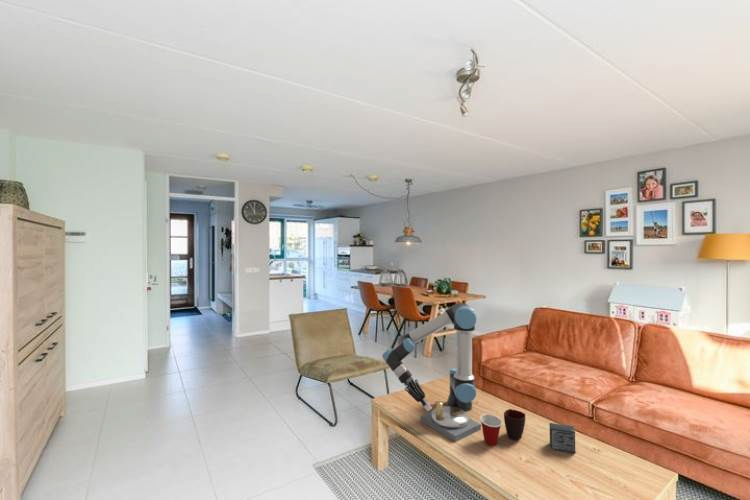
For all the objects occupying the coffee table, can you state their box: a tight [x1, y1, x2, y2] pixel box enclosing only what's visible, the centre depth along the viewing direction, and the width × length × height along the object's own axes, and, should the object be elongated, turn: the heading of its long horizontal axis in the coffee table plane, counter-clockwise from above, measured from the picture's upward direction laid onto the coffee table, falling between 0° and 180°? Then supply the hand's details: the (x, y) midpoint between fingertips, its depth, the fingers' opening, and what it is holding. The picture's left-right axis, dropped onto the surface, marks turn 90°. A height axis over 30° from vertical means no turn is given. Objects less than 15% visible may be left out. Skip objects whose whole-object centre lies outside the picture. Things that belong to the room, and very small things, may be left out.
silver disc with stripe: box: [431, 400, 470, 429], centre depth 193 cm, size 20×20×11 cm
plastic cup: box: [479, 413, 503, 447], centre depth 176 cm, size 11×11×12 cm
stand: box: [419, 410, 482, 443], centre depth 193 cm, size 26×20×3 cm
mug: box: [503, 408, 526, 442], centre depth 182 cm, size 10×14×12 cm
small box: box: [549, 422, 576, 454], centre depth 171 cm, size 11×6×10 cm, turn 71°
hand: (430, 409), depth 191 cm, fingers closed
